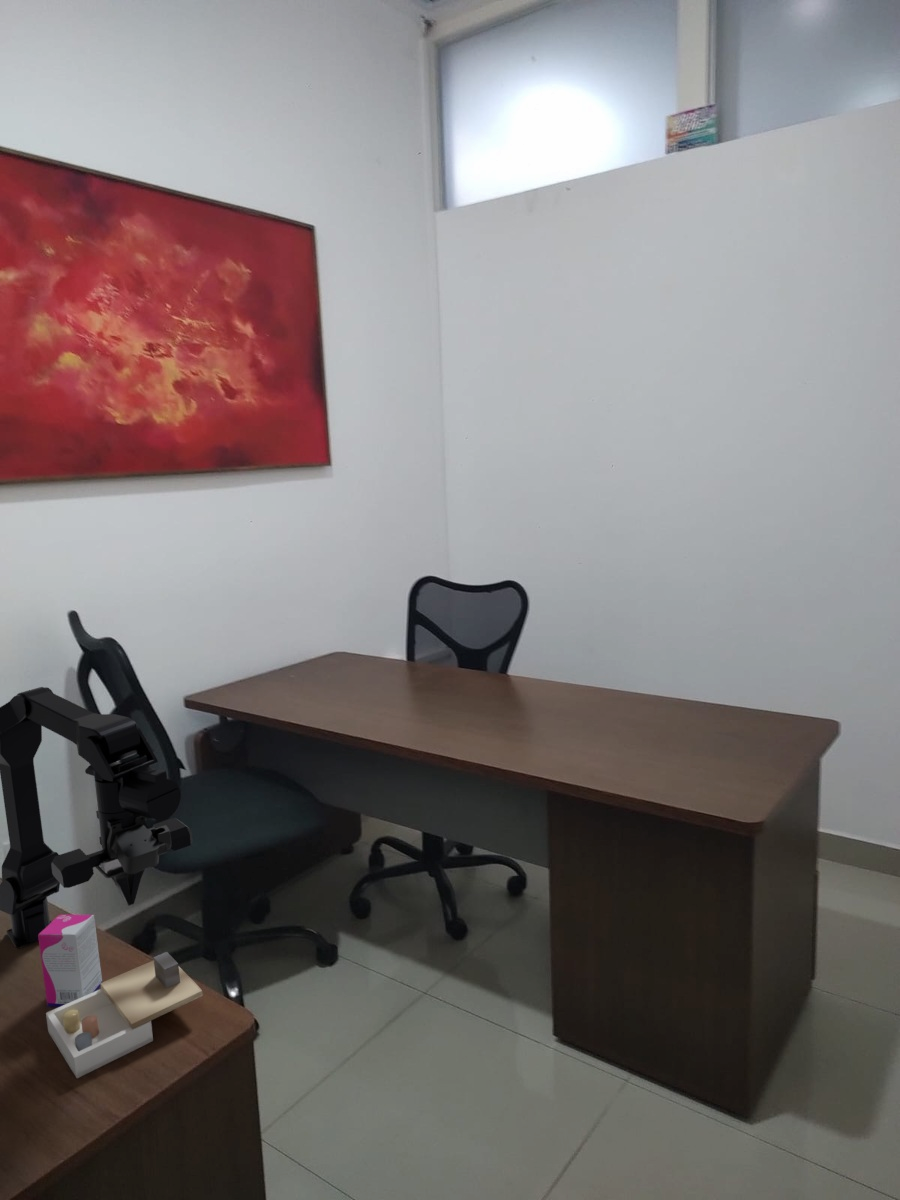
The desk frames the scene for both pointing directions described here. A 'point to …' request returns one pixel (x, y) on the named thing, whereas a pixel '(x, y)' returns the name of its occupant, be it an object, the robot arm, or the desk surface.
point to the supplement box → (70, 959)
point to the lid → (150, 990)
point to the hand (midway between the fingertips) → (130, 904)
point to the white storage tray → (94, 1032)
